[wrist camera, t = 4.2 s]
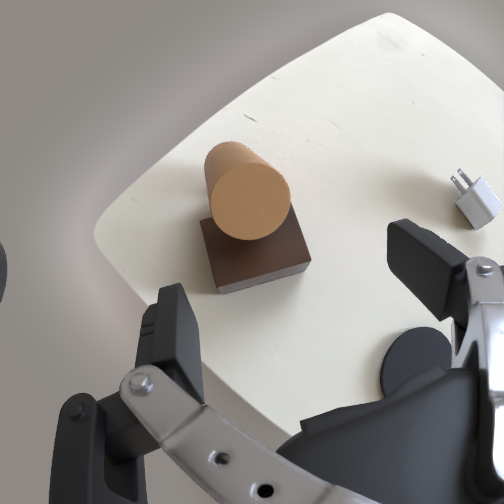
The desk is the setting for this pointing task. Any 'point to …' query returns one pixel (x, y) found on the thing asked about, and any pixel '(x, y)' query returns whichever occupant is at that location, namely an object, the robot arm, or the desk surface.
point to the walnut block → (255, 255)
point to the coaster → (413, 356)
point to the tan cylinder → (245, 192)
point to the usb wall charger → (477, 201)
